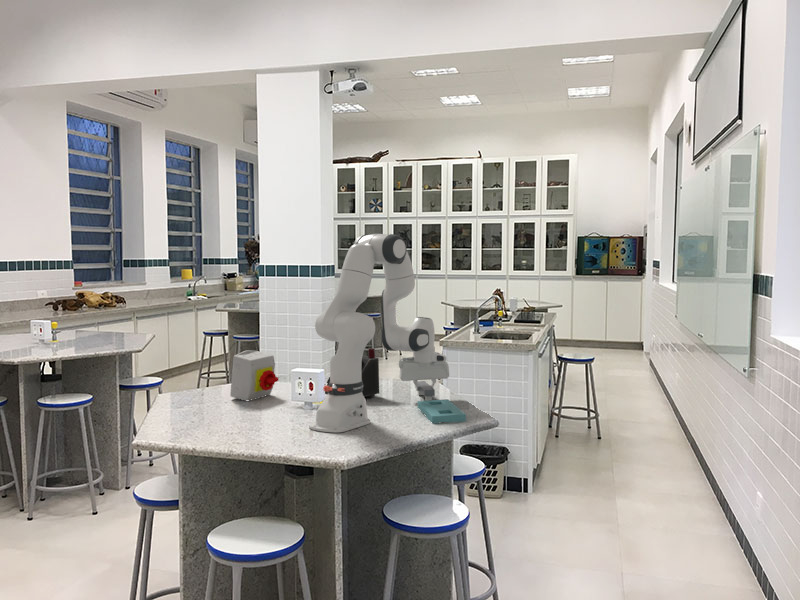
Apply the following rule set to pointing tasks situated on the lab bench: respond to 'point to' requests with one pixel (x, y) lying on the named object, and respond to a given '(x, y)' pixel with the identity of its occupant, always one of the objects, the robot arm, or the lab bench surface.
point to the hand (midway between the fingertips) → (424, 390)
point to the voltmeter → (369, 374)
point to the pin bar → (425, 390)
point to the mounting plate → (441, 411)
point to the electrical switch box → (252, 375)
